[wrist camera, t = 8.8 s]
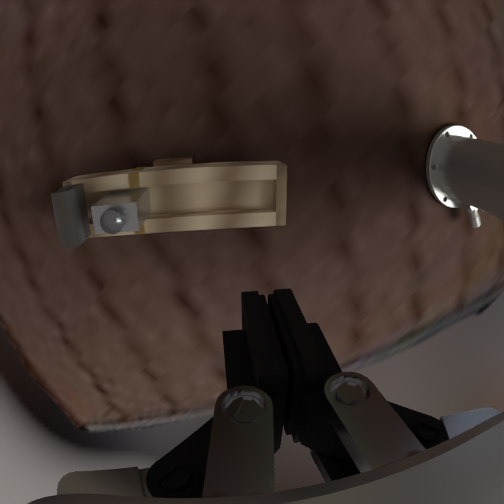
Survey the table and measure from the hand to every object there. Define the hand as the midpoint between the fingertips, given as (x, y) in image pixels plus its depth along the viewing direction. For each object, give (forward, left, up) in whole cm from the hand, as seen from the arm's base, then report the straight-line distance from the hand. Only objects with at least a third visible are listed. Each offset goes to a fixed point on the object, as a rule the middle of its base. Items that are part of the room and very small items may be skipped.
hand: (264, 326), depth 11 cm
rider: (+6, +8, -21) cm, 23 cm away
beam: (+3, +4, -26) cm, 27 cm away
